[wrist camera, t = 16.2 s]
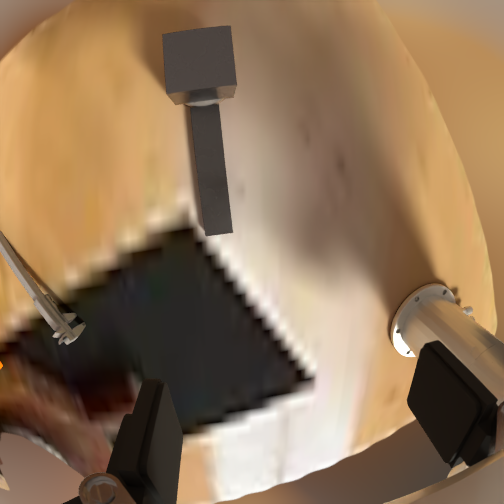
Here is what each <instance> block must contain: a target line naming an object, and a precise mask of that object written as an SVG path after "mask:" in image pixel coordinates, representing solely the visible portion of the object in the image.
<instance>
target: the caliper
mask: <svg viewBox="0 0 504 504" xmlns="http://www.w3.org/2000/svg"><path fill="white" fill-rule="evenodd" d="M0 252H1V253H2V255H3V257H4V258H5V260H6V261H7V263H8V264H9V266H10V267H11V269H12V270H13V272H14V273H15V275H16V276H17V278H18V279H19V281H20V282H21V284H22V285H23V286H24V288H25V289H26V291H27V292H28V293H29V295H30V296H31V298H32V299H33V300H34V305H35V306H36V308H37V309H38V310H39V312H40V313H41V314H42V316H43V317H44V318H45V320H46V321H47V322H48V323H49V325H50V326H51V327H52V328H53V330H57V332H55V334H54V335H53V337H56V338H58V337H61V336H62V337H61V338H60V340H59V344H61V343H62V342H65V343H66V344H69V343H71V342H72V341H74V340H76V339H77V337H78V336H79V335H80V334H81V332H82V331H83V329H84V328H85V326H86V324H85V322H83V323H82V324H80V325H78V326H76V327H74V328H73V329H71V328H70V327H69V325H68V323H70V322H71V321H72V320H74V319H75V317H76V316H77V315H76V314H75V313H66V314H61V313H60V312H59V311H58V308H57V306H56V304H55V302H54V301H52V299H51V298H50V296H49V295H48V294H46V295H44V294H43V293H42V291H41V290H40V289H39V287H38V286H37V285H36V283H35V282H34V280H33V279H32V278H31V276H30V275H29V273H28V272H27V271H26V269H25V268H24V266H23V265H22V263H21V262H20V260H19V259H18V257H17V256H16V254H15V253H14V251H13V250H12V248H11V246H10V245H9V243H8V242H7V240H6V238H5V237H4V235H3V234H2V232H1V231H0Z"/></svg>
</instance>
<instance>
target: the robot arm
mask: <svg viewBox="0 0 504 504" xmlns="http://www.w3.org/2000/svg"><path fill="white" fill-rule="evenodd" d="M472 312H473V309H472V307H471V306H467V307H464V308H461V307H460V306H458V305H457V304H456V301H455V297H454V295H453V293H452V292H451V291H450V290H449V289H448V288H447V287H445V286H444V285H441V284H437V283H432V284H428V285H425V286H423V287H420V288H419V289H417V290H416V291H414V292H413V293H412V294H411V295H410V296H408V297H407V299H406V300H405V301H404V302H403V303H402V305H401V306H400V308H399V309H398V311H397V313H396V315H395V317H394V319H393V322H392V326H391V341H392V344H393V346H394V348H395V349H396V350H397V351H398V352H399V353H400V354H401V355H404V356H407V357H414V356H416V358H417V359H418V361H417V365H416V369H415V373H414V377H413V380H412V384H411V388H410V391H409V394H408V398H407V404H408V406H409V408H410V410H411V411H412V413H413V414H414V416H415V417H416V419H417V420H418V421H419V423H420V425H421V426H422V428H423V429H424V431H425V432H426V434H427V435H428V437H429V439H430V440H431V442H432V443H433V445H434V446H435V448H436V450H437V451H438V453H439V454H440V456H441V457H442V459H443V461H444V462H445V463H449V464H450V466H451V468H453V469H452V470H451V472H450V473H449V475H448V477H447V479H445V480H442V481H440V482H438V483H436V484H433V485H431V486H429V487H427V488H424V489H422V490H419V491H417V492H414V493H412V494H409V495H407V496H404V497H401V498H398V499H396V500H393V501H390V502H387V503H384V504H504V344H503V343H502V342H501V341H500V340H499V339H497V338H496V337H495V336H494V335H492V334H491V333H490V332H489V331H487V330H486V329H485V328H483V327H482V326H481V325H480V324H478V323H477V322H476V321H475V319H474V317H473V316H470V317H469V316H468V315H469V314H471V313H472ZM182 444H183V434H182V430H181V427H180V424H179V421H178V418H177V415H176V412H175V409H174V406H173V402H172V399H171V396H170V392H169V389H168V386H167V383H162V381H161V379H144V380H143V382H142V385H141V388H140V391H139V395H138V398H137V401H136V404H135V407H134V410H133V413H132V414H126V415H125V416H124V418H123V420H122V423H121V426H120V429H119V432H118V435H117V438H116V441H115V445H114V448H113V451H112V454H111V457H110V461H109V464H108V467H107V471H106V473H104V472H102V473H94V474H91V475H89V476H87V477H86V478H85V479H84V480H83V481H82V482H81V484H80V486H79V496H77V497H75V498H73V499H71V500H69V501H67V502H65V503H63V504H176V501H177V491H178V481H179V471H180V461H181V452H182Z"/></svg>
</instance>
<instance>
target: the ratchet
mask: <svg viewBox="0 0 504 504" xmlns="http://www.w3.org/2000/svg"><path fill="white" fill-rule="evenodd" d="M224 99H225V98H224ZM224 99H215V100H207V101H200V102H192V103H186V104H185V105H187V106H189V107H193V108H190V110H191V120H192V130H193V139H194V149H195V157H196V166H197V174H198V183H199V191H200V198H201V206H202V214H203V221H204V228H205V235H206V236H211V235H219V234H227V233H233V229H232V220H231V212H230V203H229V194H228V186H227V177H226V168H225V158H224V149H223V140H222V130H221V121H220V111H219V103H220V102H222V101H223V100H224Z"/></svg>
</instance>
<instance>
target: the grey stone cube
mask: <svg viewBox="0 0 504 504" xmlns="http://www.w3.org/2000/svg"><path fill="white" fill-rule="evenodd" d="M162 35H163V53H164V68H165V81H166V94H167V95H168V97H169V98H170V99H171V100H172V101H173V102H174V104H175V105H179V104H186V103H192V102H200V101H207V100H215V99H224V98H233V97H234V94H235V90H236V86H237V82H236V72H235V63H234V54H233V45H232V35H231V26H219V27H209V28H201V29H193V30H186V31H179V32H173V33H167V34H162Z"/></svg>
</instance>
